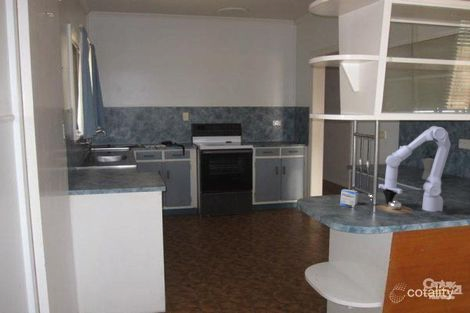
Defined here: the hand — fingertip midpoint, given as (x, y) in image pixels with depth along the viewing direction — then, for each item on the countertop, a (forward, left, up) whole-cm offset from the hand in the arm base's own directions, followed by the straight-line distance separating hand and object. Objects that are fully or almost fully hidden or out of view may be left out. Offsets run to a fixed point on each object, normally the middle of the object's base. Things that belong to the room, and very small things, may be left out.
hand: (388, 204), depth 211 cm
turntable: (0, +4, -3) cm, 5 cm away
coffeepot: (-98, -59, -3) cm, 114 cm away
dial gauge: (+7, -5, -3) cm, 9 cm away
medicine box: (+17, -11, -3) cm, 20 cm away
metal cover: (0, +4, -1) cm, 4 cm away
